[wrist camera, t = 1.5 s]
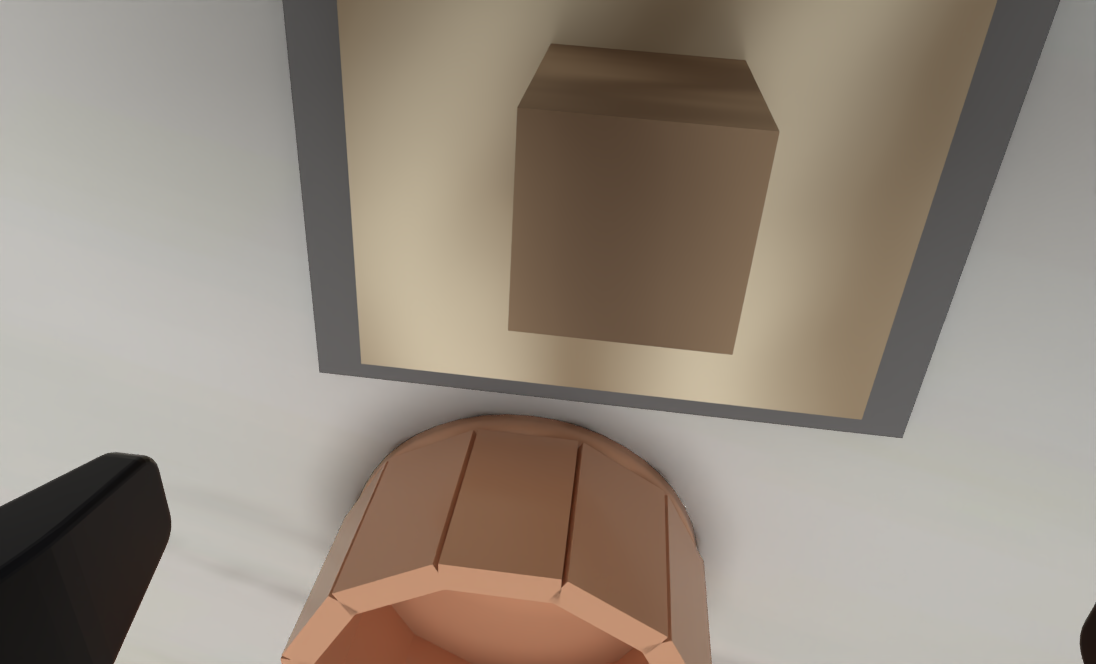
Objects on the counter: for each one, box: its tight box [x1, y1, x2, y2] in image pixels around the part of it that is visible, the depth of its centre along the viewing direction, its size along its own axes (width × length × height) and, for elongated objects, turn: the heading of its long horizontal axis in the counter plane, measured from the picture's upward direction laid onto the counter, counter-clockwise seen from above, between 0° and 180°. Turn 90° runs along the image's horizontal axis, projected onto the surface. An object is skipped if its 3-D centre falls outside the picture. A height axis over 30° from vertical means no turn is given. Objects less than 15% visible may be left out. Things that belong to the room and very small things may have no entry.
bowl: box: [281, 414, 712, 664], centre depth 24 cm, size 11×11×6 cm
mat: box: [283, 0, 1060, 438], centre depth 18 cm, size 16×15×1 cm
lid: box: [337, 0, 997, 420], centre depth 16 cm, size 13×13×6 cm
